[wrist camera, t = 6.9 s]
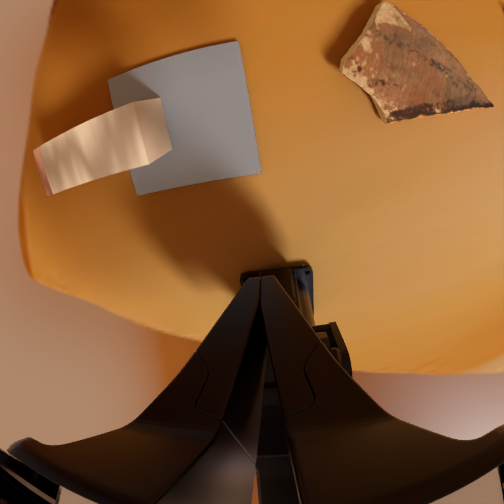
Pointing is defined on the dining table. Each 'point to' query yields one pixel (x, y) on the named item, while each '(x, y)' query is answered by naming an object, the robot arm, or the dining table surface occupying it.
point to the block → (104, 146)
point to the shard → (408, 69)
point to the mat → (195, 117)
